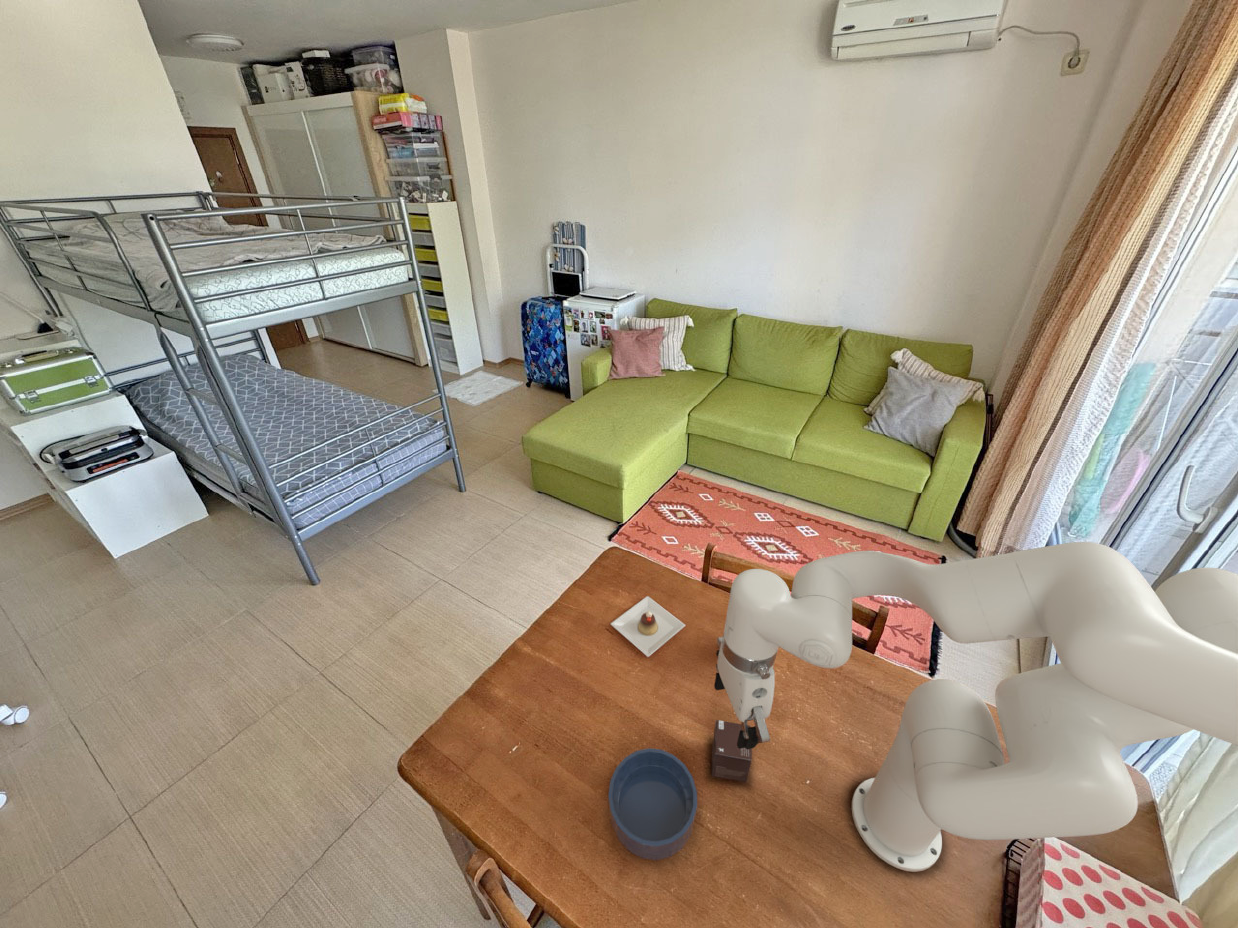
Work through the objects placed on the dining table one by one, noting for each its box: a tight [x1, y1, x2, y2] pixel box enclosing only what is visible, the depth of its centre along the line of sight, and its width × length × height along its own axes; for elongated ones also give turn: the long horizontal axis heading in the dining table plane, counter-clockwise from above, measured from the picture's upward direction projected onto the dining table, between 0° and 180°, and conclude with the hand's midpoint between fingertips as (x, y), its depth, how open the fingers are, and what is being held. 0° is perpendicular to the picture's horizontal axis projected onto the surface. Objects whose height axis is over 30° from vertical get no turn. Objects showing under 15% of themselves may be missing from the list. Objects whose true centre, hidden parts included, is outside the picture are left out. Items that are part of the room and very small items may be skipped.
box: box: [711, 719, 753, 783], centre depth 84 cm, size 6×6×7 cm
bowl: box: [607, 747, 698, 861], centre depth 79 cm, size 14×14×6 cm
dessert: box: [610, 595, 686, 658], centre depth 110 cm, size 12×12×5 cm
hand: (734, 714), depth 79 cm, fingers open, 9 cm apart
